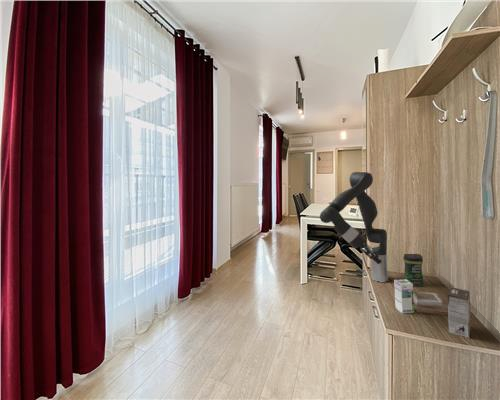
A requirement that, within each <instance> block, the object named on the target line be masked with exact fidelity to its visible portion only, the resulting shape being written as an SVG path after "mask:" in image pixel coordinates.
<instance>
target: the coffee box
mask: <svg viewBox="0 0 500 400" xmlns="http://www.w3.org/2000/svg"><path fill="white" fill-rule="evenodd" d="M470 300H471V299H470V291H469V290H466V289H463V288H462V289H460V288H456V287H452V286H451V287H449V289H448V293H447V306H448V315H447V317H448V333H450V334H453V335H456V336H459V335H461V336H460V337H462V336H465V337H464V338H466V337H468V338H467V339H470V335H471V333H470V332H471V308H470V307H471V306H470V305H471V304H470V303H471V301H470Z"/></svg>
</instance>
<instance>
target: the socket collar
mask: <svg viewBox="0 0 500 400" xmlns="http://www.w3.org/2000/svg"><path fill="white" fill-rule="evenodd" d="M436 294H437V293H435V292H427V291H426V292H425V291H414V290H413V297H414V301H415V303H416V305H417V306H423V307H432V308H442V302H441V300H440V299H439V298H438V297H437V296H436ZM418 298H421V299H418ZM422 299H432V300H434V301H432V300H422Z"/></svg>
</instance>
